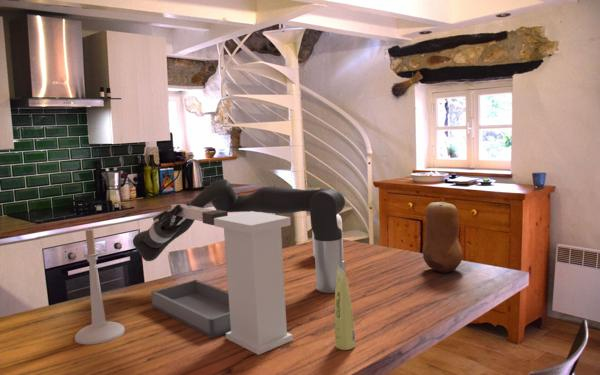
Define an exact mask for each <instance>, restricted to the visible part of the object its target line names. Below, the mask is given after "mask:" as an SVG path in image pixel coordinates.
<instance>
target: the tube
mask: <svg viewBox="0 0 600 375" xmlns="http://www.w3.org/2000/svg"><path fill="white" fill-rule="evenodd" d="M346 276H347V275H346ZM346 276H345V273H344V272H343V271H342V270H341V269H340V267H339V266H338V269H337V274H336V289H335V293H334V294H335V295H334V345H335V348H336V349H338V350H342V351H347V350H352V349H354V348H355V346H356V338H355V324H354V313H353V307H352V299H351V298H352V297H351V292H350V286H349V284H348V283H349V282H348V279H347V277H346Z"/></svg>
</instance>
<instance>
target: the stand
mask: <svg viewBox="0 0 600 375" xmlns="http://www.w3.org/2000/svg"><path fill="white" fill-rule="evenodd" d="M291 224H292V222H291V216H285V215H280V214H278V215H277V214H273V213H263V212H253V211H251V212H239V213H235V214H230V215H228V216H224V217H218V218H214V225H213V226H214V227H216V228H222V229H223V237H224V251H225V263H226V265H225V266H226V277H227V278H226V279H227V280H226V281H227V292H228V295H229V309H230V324H231V331H230V332H227V333H225V339H226V340H228V341H230V342H233V343H234V344H236V345H238V346H240V347H242V348H244V349H246V350H248V351H250V352H252V353H254V354H256V355H258V356H260V355H261V354H263V353H267V352H268V351H271V350H273V349H276V348H278V347H280V346H283V345H285V344H287V343H290V342H292V341H293V340H294V337H293V334H292V333H290V332H288V331H287V327H288V326H287V313H286V312H287V311H286V297H285V296H286V294H285V277H284V276H285V273H284V261H283V260H284V259H283V240H282V238H283V237H282V228H284V227H288V226H289V227H290V226H291Z"/></svg>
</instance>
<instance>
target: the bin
mask: <svg viewBox="0 0 600 375" xmlns="http://www.w3.org/2000/svg"><path fill="white" fill-rule="evenodd" d="M150 294H151V295H150V296H151V305H152V306H151V307H152V308H153V309H155V310H157V311H159V312H161V313H163V314H165V315H166V316H169V317H170V318H173V320H176V321H179V322H180V323H182V324H183V325H186V326H187V327H190V329H191V328H192V329H193V330H195V331H197V332H199V333H201V334H203V335H205V336H206V337H208V338H210V339H214V338H216V337H220V336H222V335H226V333H227V332H230V331H231V324H230V309H229V295H228V290H224V289H221V288H219V287H216V286H214V285H211V284H208V283H206V282H203V281H201V280H198V279H193V280H189V281H185V282H182V283H179V284H174V285H170V286H168V287H167V286H166V287H164V288H161V289H160V288H159V289H156V290H152V291H150Z"/></svg>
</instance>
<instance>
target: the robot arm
mask: <svg viewBox="0 0 600 375" xmlns="http://www.w3.org/2000/svg"><path fill="white" fill-rule="evenodd" d="M209 203H211V204H212V206H213V207H214V210H222V211H227V212H228V213H245V212H251V211H253V212H259V213H266V214H273V215H277V214H278V215H281V214H292V213H300V212H309V214H310V215H309V216H310V226H311V232H312V231H313V233H314V243H315V258H314V259H315V260H314V261H315V283H316V290H317V291H318V292H320V293H324V294H332V293H334V294H335V289H336V274H337V269H338V266H339V267H340V269H341V270H342V271H343V272H344V273H345V276H347V275H346V274H347V273H346V261H345V260H344V244H342V235H343V229H342V230H341V229H340V228H339V227H338V225H337V214H340V213H341V212H342V211H343V210H344V208H345V206H346V199H345V196H344V195H343V194H342V193H341V191H339V190H337V189H335V188H321V189H298V188H291V187H281V186H263V187H260V188H258V189H257V190H255V191H254V192H252V193H251V194H250V195H239V194H237V193H236V192H235V190H234V188H233V187H232V185H231V182H230V181H229V180H227V179H224V178H221V179H217V180H215V181H213V182H212V183H210V184H209V185H208V186H207V187H206V188H204V189H203V190H202V191H200V193H199V194H198V195H197V196H196V197H194V198H193V199H192V200H191V201H190V202H188V203H186V204H185V205H189V206H195V207H200V208H205V206H207V205H208V204H209ZM177 204H178V205H176V207H174V208H173V209H171V208H170V209H169V210H164V211H162V212H160V214H157V215H155V216H154V217H152V220H153V223H152V224H151V226H150V227H149V228H148V229H147V230H144V231H141V232H139V233H137V234H136V235H135V236H134V237H133V239H132V244H133V247H135V249H136V251H137V252H138V253H139V255H140V256H141V257H142V259H143V260H144V261H145V262H152V261H154V260H156V259H157V258H158V257H159V256H160V255H161V254H162V252H163V251H164V250H165V249H166V248H167V247H168V245H170V244H171V243H172V242H173V241H174V240H175V239H178V238H179V237H181V235H183V234H185V233H186V232H187V231H188V230H189V229H190V228H191V227H192V225H193V224H194V222H195V220H193V219H189V218H185V217H180V216H176V215H178V214H179V213H180V212H181V211H182V209H181V205H180V204H181V203H177Z"/></svg>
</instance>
